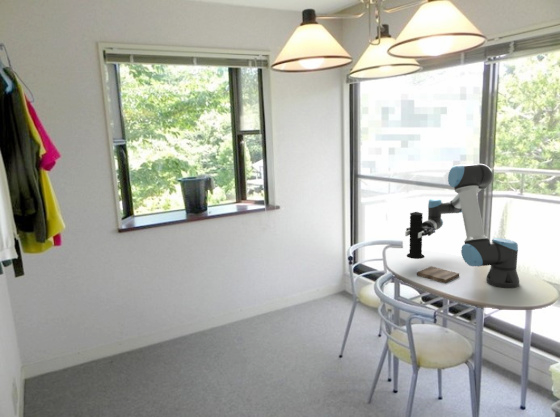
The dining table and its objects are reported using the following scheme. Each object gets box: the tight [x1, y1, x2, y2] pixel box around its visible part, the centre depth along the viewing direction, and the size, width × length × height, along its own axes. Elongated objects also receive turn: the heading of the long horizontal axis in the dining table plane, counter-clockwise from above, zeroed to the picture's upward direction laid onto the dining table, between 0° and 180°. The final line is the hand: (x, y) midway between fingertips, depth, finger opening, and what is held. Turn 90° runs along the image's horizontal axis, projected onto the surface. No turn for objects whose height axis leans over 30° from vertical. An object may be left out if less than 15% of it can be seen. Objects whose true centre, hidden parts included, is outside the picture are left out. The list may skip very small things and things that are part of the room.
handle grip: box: [406, 211, 425, 260], centre depth 230 cm, size 10×26×10 cm
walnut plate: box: [416, 265, 460, 284], centre depth 222 cm, size 17×14×2 cm
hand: (412, 234), depth 227 cm, fingers closed on handle grip, 7 cm apart
